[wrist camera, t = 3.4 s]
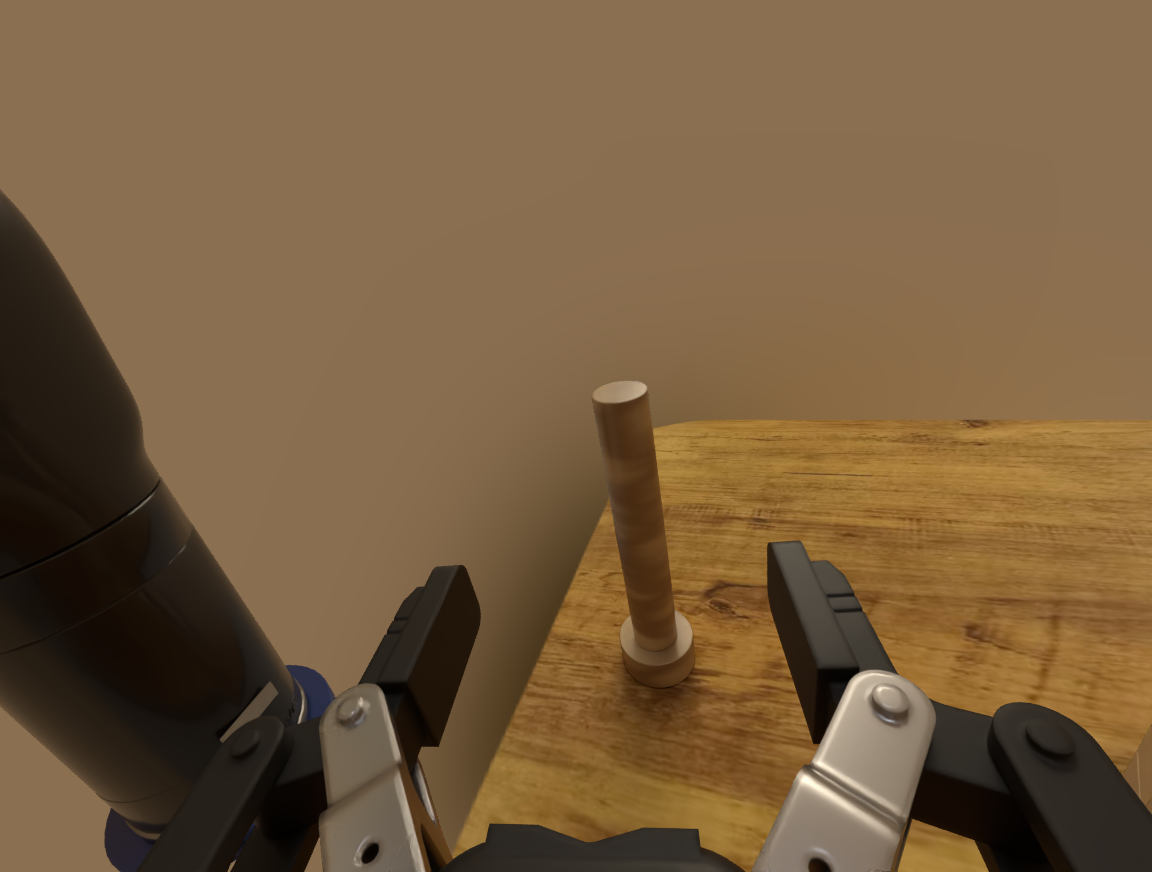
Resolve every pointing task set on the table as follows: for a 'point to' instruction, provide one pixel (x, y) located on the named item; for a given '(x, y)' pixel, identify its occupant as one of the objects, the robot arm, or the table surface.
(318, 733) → the robot arm
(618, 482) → the wooden pestle
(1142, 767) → the cream open cylinder
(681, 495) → the table surface
